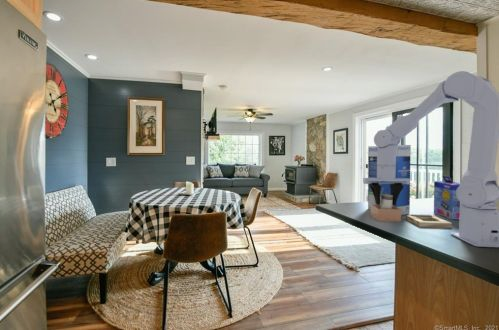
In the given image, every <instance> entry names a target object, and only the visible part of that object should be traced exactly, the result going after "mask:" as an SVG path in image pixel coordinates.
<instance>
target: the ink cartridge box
mask: <svg viewBox="0 0 499 330" xmlns="http://www.w3.org/2000/svg"><path fill="white" fill-rule="evenodd" d="M442 178H443V180H435V181H433V186H434V187H433V213H434V214H437V215H439V216H442V217H444V218H446V219H449V220H459V214H460V201H459V200H458V198H457V196H456V190H457V188H458V187H459V185H460V184H461V182H455V181H453V180H452V178H451V177H450V176H446V175H442Z"/></svg>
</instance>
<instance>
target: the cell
mask: <svg viewBox="0 0 499 330" xmlns="http://www.w3.org/2000/svg"><path fill="white" fill-rule="evenodd" d="M392 202H393V195H390V194H387V193H385V194H381V204H380V209H392Z"/></svg>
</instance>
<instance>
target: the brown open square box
mask: <svg viewBox="0 0 499 330" xmlns="http://www.w3.org/2000/svg"><path fill="white" fill-rule="evenodd" d="M370 217H372V218H373V219H375V220H377V222H400V223H401V222H402V215H401V209H399V208H397V207H395V206H393V205H392V209H380V205H371V209H370Z"/></svg>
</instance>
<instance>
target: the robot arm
mask: <svg viewBox="0 0 499 330" xmlns="http://www.w3.org/2000/svg"><path fill="white" fill-rule="evenodd" d="M460 100H463V101H464V102H465V103H466V104H468V105H469V106H471V107H472V108H473V118H472V127H471V134H470V135H471V136H470V137H471V138H470V143H469V153H468V160H467V169H466V171H465V172H464V173H463V175H462V178H461V182H460V183H461V184H460V185H459V187H458V188H457V190H456V196H457V198H458V200H459V201H460V214H459V219H458V232H450V235H452V236H454V237H456V238H457V239H460V240H461V241H463V242H466V243H467V244H469V245H472V246H474V247H479V248H480V247H481V248H482V247H483V248H484V247H485V248H499V209H498V205H497V204H496V202H497V201H498V200H499V183H498V180H499V176H498V175H497V173H496V171H495V169H496V162H497V153H498V148H499V91H498V90H497V89H496V88H495V86H494V84H493V82H492V81H491V80H490V79H488V78H485V77H483V76H482V75H481V76H480V75H475V74H473V73H470V72H469V71H466V70H460V71H456V72H454V73H452V74H450V75H449V76H448V77H447V78H446V79H445V80H443V81H442V82H440V83H439V84H438V86H437V87H436V88H435V89H434V91H433V92H432V93H430V94H429V95H428V96H427V97H426V98H425V99H424V100H423V101H421V102H420V104H418V106H416V107H415V108H414V109H413V110H411V112H410V113H404V114H402V115H398V116H397V117H396V120H394V121H393V122H392V123H391V124H390V125H389V126H388V125H387V126H386V127H385V129H380V130H378V131H377V132H376V133H375V135H374V137H373V142H374V146H377V178H368V177H362V184H364V185H368V184H369V186H370V188H371V190H372V192H373V195H374V198H375V203H376V204H377V205H380V192H381V186H380V185H379V184H390V189H391V195H393V202H392V205H396V201H397V198H398V196H399V194H400V192H401V191H402V189H403V187H404V185H402V184H410V185H411V178H410V179H408V178H395V177H396V151H397V146H398V145H400V142H401V140H403V138H405V137H406V136H407V135H408V134H410V133H411V132H412V131H414V130H415V129H416V128H418V124H419V122H420V120H422V119H423V118H425V117H426V116H428V115H429V114H430V113H432V112H433V111H435V110H436V109H438V108H439V107H440V106H442V105H444V104H447V103H455V102H458V101H460ZM381 181H386V182H381Z"/></svg>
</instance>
